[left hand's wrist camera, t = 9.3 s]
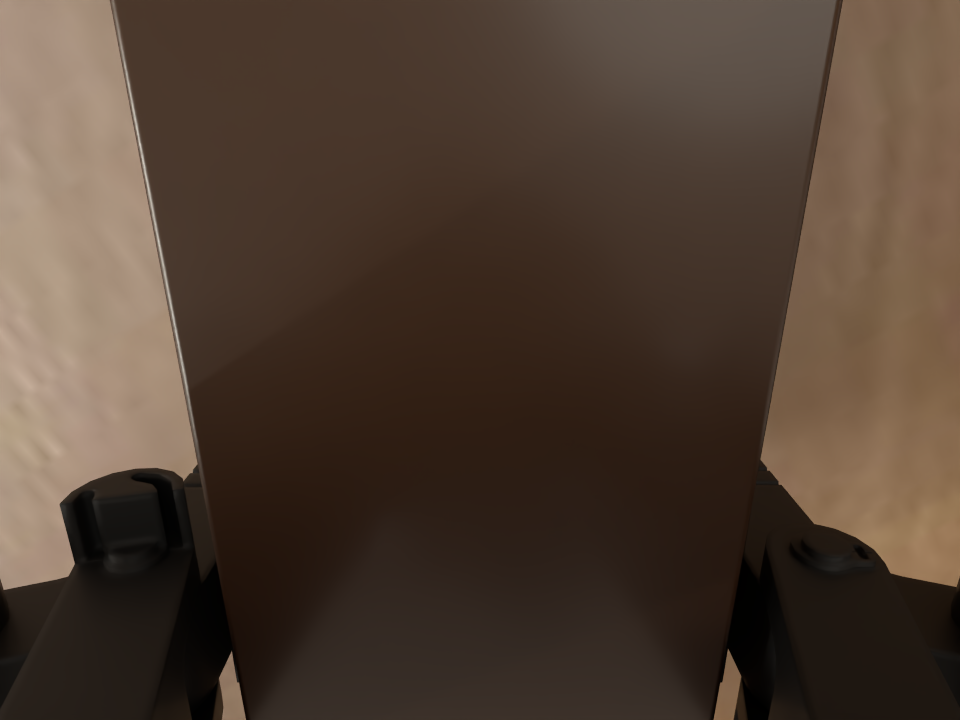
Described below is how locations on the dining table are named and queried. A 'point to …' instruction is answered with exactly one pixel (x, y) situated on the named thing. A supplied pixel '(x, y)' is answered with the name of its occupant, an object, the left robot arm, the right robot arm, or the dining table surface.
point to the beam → (477, 333)
